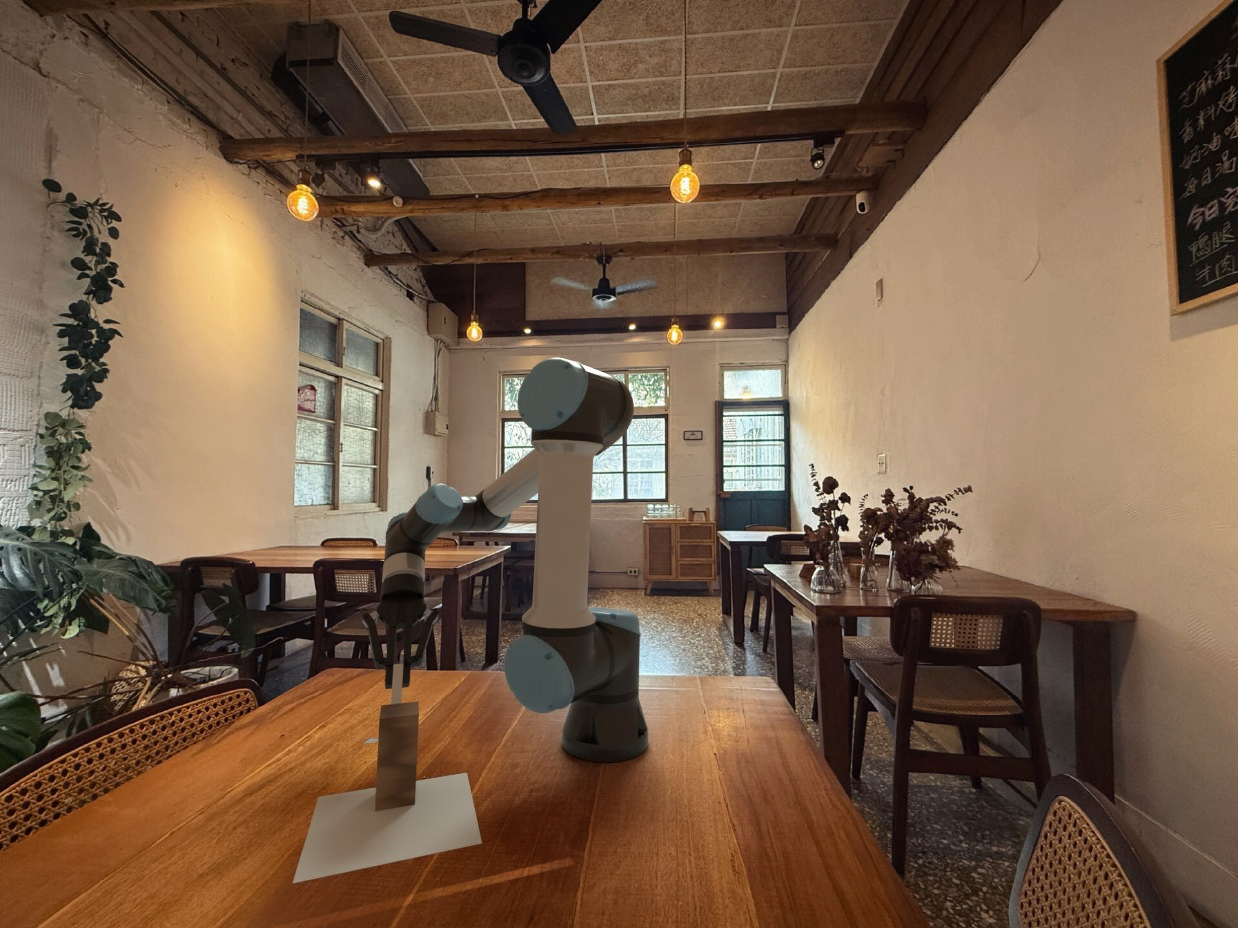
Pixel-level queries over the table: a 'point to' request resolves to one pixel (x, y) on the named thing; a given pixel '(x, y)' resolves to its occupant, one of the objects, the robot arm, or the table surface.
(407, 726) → the walnut block
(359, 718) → the table surface
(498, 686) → the table surface
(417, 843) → the mat
